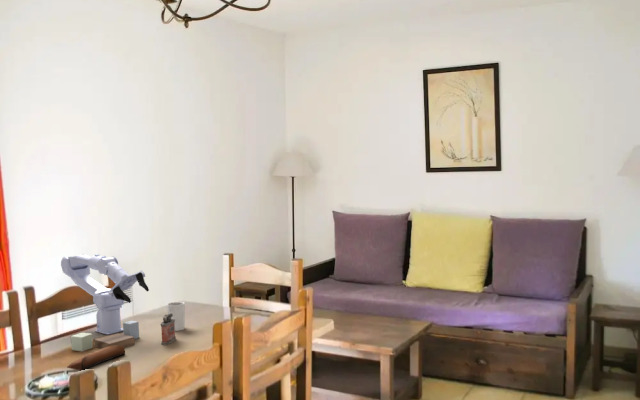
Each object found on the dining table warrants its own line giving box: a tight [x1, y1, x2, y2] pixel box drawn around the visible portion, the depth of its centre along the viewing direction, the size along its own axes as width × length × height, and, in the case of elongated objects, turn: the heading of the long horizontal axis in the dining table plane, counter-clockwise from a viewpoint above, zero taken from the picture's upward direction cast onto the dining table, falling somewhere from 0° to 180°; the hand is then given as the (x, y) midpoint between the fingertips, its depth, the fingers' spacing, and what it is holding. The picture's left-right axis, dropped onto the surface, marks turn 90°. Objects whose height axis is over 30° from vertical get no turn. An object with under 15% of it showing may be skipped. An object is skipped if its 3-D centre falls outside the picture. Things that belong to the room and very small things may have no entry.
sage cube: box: [70, 332, 94, 352], centre depth 219 cm, size 5×5×5 cm
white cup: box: [166, 301, 186, 332], centre depth 243 cm, size 7×7×10 cm
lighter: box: [160, 313, 177, 346], centre depth 225 cm, size 8×3×10 cm, turn 168°
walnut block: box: [93, 332, 135, 349], centre depth 223 cm, size 10×10×3 cm
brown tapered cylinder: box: [66, 345, 126, 371], centre depth 204 cm, size 18×7×7 cm
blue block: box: [122, 320, 140, 340], centre depth 231 cm, size 4×4×6 cm
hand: (138, 294), depth 228 cm, fingers open, 7 cm apart
